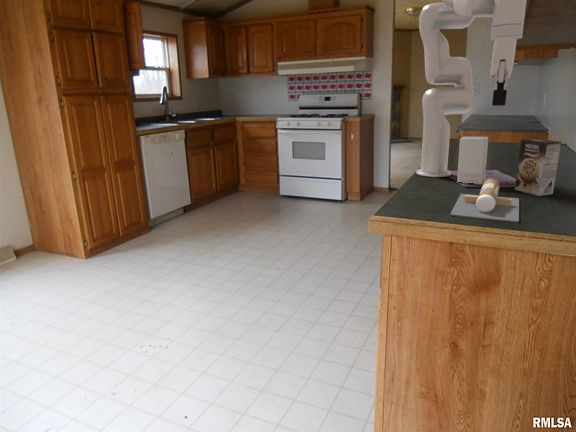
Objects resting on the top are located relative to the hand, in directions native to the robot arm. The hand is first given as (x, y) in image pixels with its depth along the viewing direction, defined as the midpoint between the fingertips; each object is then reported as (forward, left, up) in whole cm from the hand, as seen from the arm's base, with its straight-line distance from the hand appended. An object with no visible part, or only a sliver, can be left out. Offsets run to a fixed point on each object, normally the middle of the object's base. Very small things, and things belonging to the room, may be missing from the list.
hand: (498, 105), depth 119 cm
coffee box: (-16, +12, -27) cm, 34 cm away
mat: (+8, 0, -27) cm, 28 cm away
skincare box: (-24, -7, -27) cm, 37 cm away
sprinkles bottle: (+2, +1, -22) cm, 22 cm away
